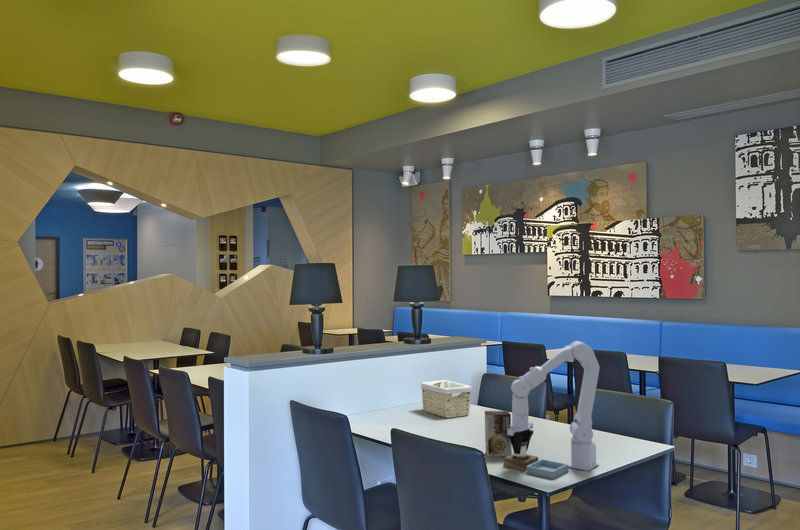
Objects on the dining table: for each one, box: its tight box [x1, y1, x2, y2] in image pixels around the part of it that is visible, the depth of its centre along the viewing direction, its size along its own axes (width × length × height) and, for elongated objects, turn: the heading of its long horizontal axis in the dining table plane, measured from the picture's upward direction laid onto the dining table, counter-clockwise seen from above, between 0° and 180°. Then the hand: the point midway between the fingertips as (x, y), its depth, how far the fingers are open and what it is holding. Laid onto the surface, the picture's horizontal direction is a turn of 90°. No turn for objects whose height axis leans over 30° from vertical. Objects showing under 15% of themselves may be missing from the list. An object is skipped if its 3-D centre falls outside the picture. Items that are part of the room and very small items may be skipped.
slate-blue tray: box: [525, 458, 569, 480], centre depth 215 cm, size 11×10×2 cm
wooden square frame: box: [502, 452, 539, 472], centre depth 223 cm, size 9×9×3 cm
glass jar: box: [515, 440, 528, 460], centre depth 223 cm, size 5×5×9 cm
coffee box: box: [484, 410, 513, 458], centre depth 238 cm, size 9×6×16 cm
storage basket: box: [420, 379, 473, 419], centre depth 312 cm, size 24×16×15 cm
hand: (520, 452), depth 223 cm, fingers closed on glass jar, 5 cm apart
